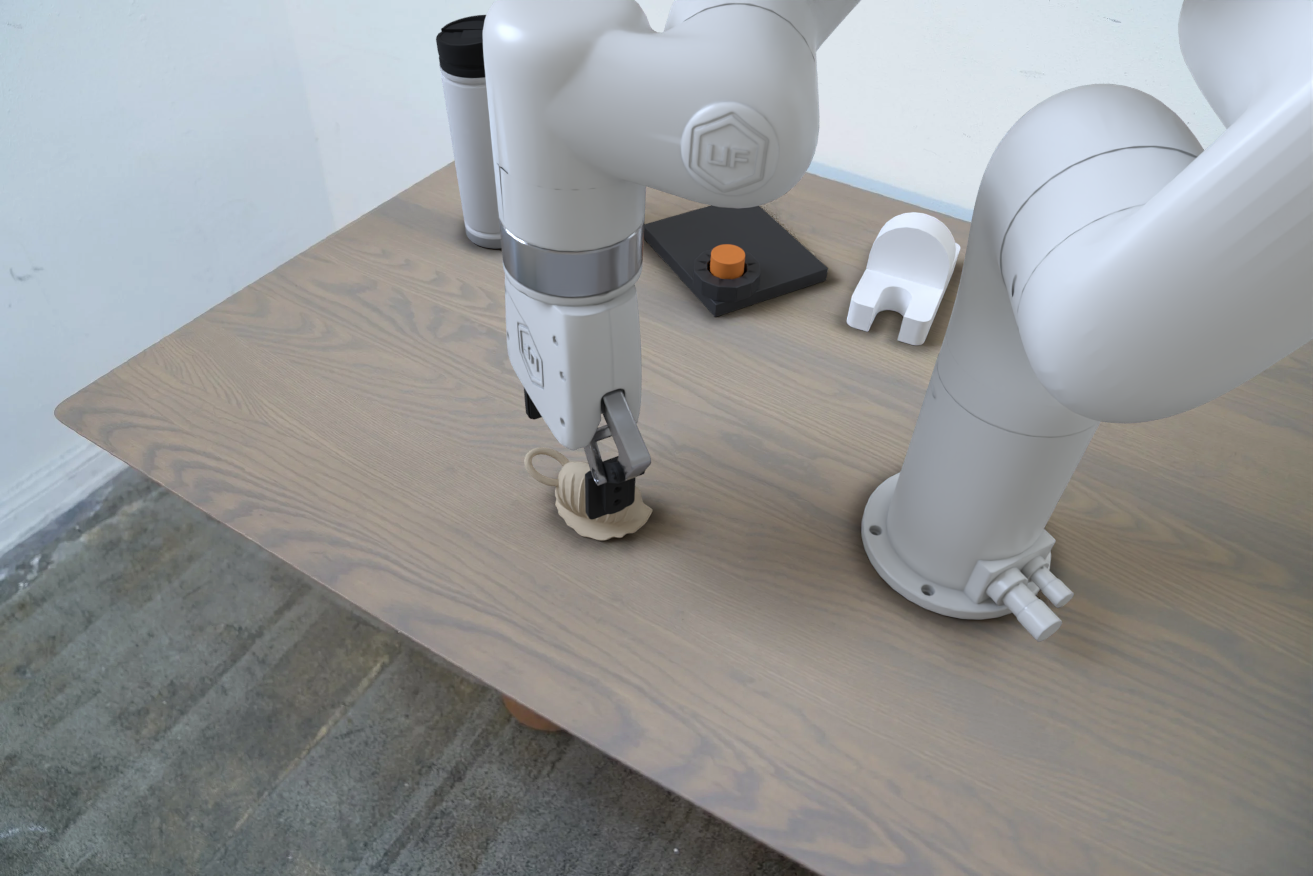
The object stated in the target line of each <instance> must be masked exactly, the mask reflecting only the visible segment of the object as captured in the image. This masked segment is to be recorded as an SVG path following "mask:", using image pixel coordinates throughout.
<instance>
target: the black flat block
mask: <svg viewBox="0 0 1313 876" xmlns="http://www.w3.org/2000/svg"><path fill="white" fill-rule="evenodd" d="M644 240H645V241H646V242H647V244H648V245H649V246H650V248H652V249H653V250H654V252H655V253H656V254H657V255H658V256H659V257H660V258H661V259H662V260H663V261H664V263H665V264H666V265H667V266H668V267H669V268H670V269H671V270H672V271H673V272H674V274H675V275H676V276H677V277H678V278H679V279H680V280H681V281H682V283H683V284H685V286H686V287H687V288H688V289H689V290H690V291H691V292H692V293H693V295H695V297H696V298H697V299H698V300H699V301H700V302H701V303H702V305H703V306H704V307H705V308H706V309H707V310H708V311H709V312H710V313H711V315H713V317H714V318H717V317H719V316H722V315H726V314H728V313H731V312H735V311H738V310H741V309H744V308H747V307H749V306H753V305H756V304H759V303H762V302H765V301H768V300H771V299H774V298H777V297H781V296H783V295H786V294H789V293H793V292H796V291H799V290H801V289H804V288H808V287H810V286H813V285H818V284H820V283H823V282H826V281H827V277H828V271H829V267H827V266H826V265H825V264H824V262H822V261H821V260H820V259H819V258H818V257H817V256H816V255H814V254H813V252H811V251H810V250H809V249H808V248H806V247H805V246H804V245H803V244H802V243H801V242H800V241H799V240H798V239H796V238H795V236H793V235H792V234H791V233H790V232H789V231H788V230H787V229H786V228H785V227H784V226H782V225H781V224H780V223H779V222H778V221H777V220H776V219H774V218H773V216H771V215H770V214H769V213H768V212H766V210H765V209H764V208H762V207H761V205H760V206H755V207H749V208H725V207H717V206H712V205H706V206H704V207H700V208H697V209H694V210H693V209H692V210H689V211H686V212H682V213H679V214H676V215H672V216H668V217H665V218H662V219H657V220H654V221H651V222H647V223H644ZM723 244H730V245H735V246H738V247H740V248H741V249H742V250H743V251H744V252H745V263H744V272H743V274H742V276H741V277H739V278H736V279H721V278H718V277H716V276H713V275H712V274H711V272H710V261H711V251H712V250H713V249H714V248H715V247H717V246H719V245H723Z"/></svg>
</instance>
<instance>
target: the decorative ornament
mask: <svg viewBox="0 0 1313 876" xmlns="http://www.w3.org/2000/svg"><path fill="white" fill-rule="evenodd" d="M540 455H543V456H548V457H550V458H553V459H555V460H556V461H557V462H558V463H559V464H560V465H561V466H562V467H561V468H560V471H559V473H558V475H557V478H552V477H548V476H546V475H544V474H543V473H541V472H539V471H537V470H536V468H535V467H534V465H533V458H535V457H536V456H540ZM523 463H524V468H525V469H526V472H527V473H528V474H529V476H530V477H531V478H533V479H534V480H536V481H537V482H538V483H541V484H542V485H545V486H548V487H555V489H554V496H555V502H554V506H555V507H556V509H557V514H558V516H559V517H561V518H562V519H563V520H564V522H565V525H566V526H568V527H569V528H571V529H573V530H574V531H575V532H576V533H577V534H578V535H579V536H581V537H583V538H590V539H593V540H595V541H601V542H602V541H603V542H604V541H607V540H610V539H613V538H617V539H622V538H623V537H624V536H626V535H628V534H635V533H636V532H638V530H639V529H641V528H642V527H643V526H645V524H646V523H647V522H648V521H649V519H650V517H651V515H652V513H653V511H654V510H653V509H652V508H651V507H650V506H649V505H647V504H645V503H644V502H643V497H642V492H641V491H640V489H639V488H638V487H637V485H635V500H634V503H633V504H632V505H630V506H628V507H626V508H625V509H623V510H622V511H619V512H617V513H614V514H607V515H604V516H602V517H599V518H596V519H593V520H591V519H589V517H588V516H587V514H586V512H585V474H586V473H587V472H588V471H590V467H589V464H588V462H586V461H570V460H569V459H568V458H567V457H566V456H565V455H564V454H563V453H562V452H559V451H558V450H555V449H554V448H550V447H543V446H540V447H534V448H532V449H530V450H529V451H527V453H526V454H525V456H524V461H523Z"/></svg>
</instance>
